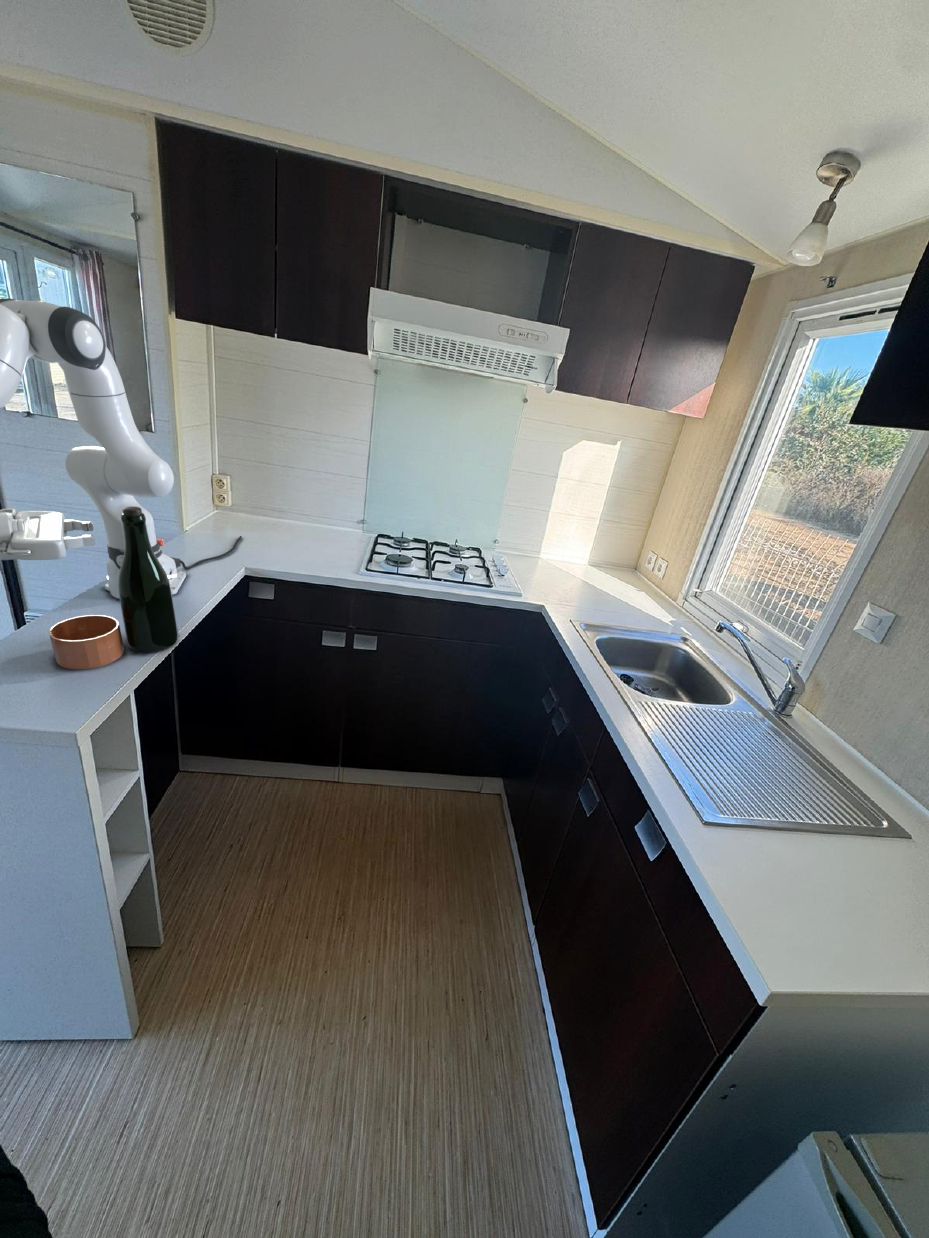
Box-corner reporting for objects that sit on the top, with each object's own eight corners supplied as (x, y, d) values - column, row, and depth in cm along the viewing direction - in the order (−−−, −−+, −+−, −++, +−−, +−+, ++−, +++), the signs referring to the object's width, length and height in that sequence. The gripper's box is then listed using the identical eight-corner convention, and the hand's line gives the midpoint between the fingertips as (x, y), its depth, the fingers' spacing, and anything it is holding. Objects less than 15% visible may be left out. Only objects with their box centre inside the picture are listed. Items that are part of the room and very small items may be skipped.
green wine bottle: (116, 647, 113) (88, 507, 98) (153, 628, 122) (132, 498, 108) (154, 658, 111) (130, 517, 96) (189, 638, 120) (172, 507, 106)
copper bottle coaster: (78, 639, 113) (72, 613, 110) (134, 643, 115) (129, 617, 112) (42, 667, 103) (34, 638, 100) (105, 671, 104) (98, 643, 101)
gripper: (-8, 537, 84) (91, 533, 92) (4, 506, 98) (89, 504, 106) (3, 571, 87) (98, 564, 94) (13, 536, 101) (95, 532, 109)
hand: (93, 532), depth 100 cm, fingers open, 8 cm apart
